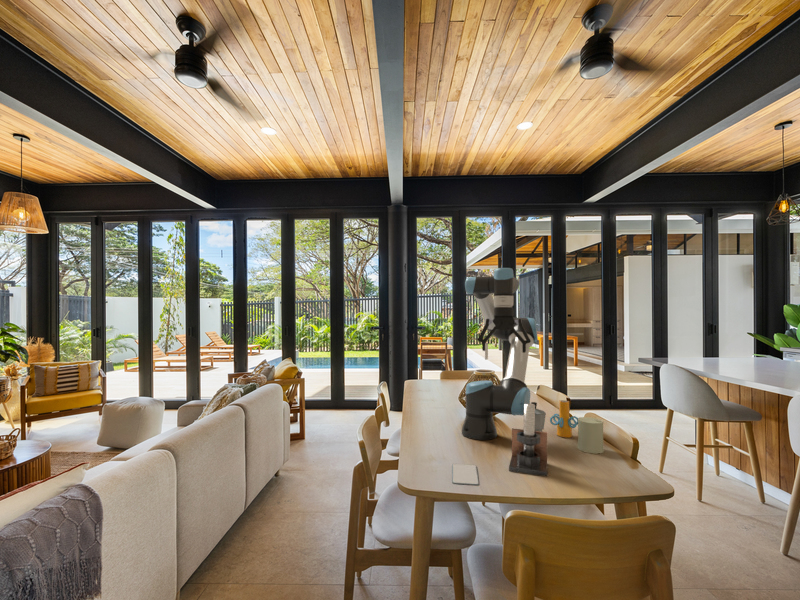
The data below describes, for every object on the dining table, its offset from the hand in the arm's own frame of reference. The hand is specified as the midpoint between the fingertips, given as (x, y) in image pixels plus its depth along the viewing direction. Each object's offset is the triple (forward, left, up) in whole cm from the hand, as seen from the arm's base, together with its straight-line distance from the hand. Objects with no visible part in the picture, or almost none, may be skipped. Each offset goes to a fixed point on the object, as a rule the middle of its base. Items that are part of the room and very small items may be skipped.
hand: (503, 360), depth 154 cm
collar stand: (+10, -16, -35) cm, 39 cm away
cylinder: (+23, +27, -35) cm, 50 cm away
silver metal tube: (+10, -16, -33) cm, 38 cm away
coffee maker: (+11, +4, -35) cm, 37 cm away
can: (+32, +12, -35) cm, 49 cm away
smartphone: (-9, -31, -35) cm, 48 cm away
